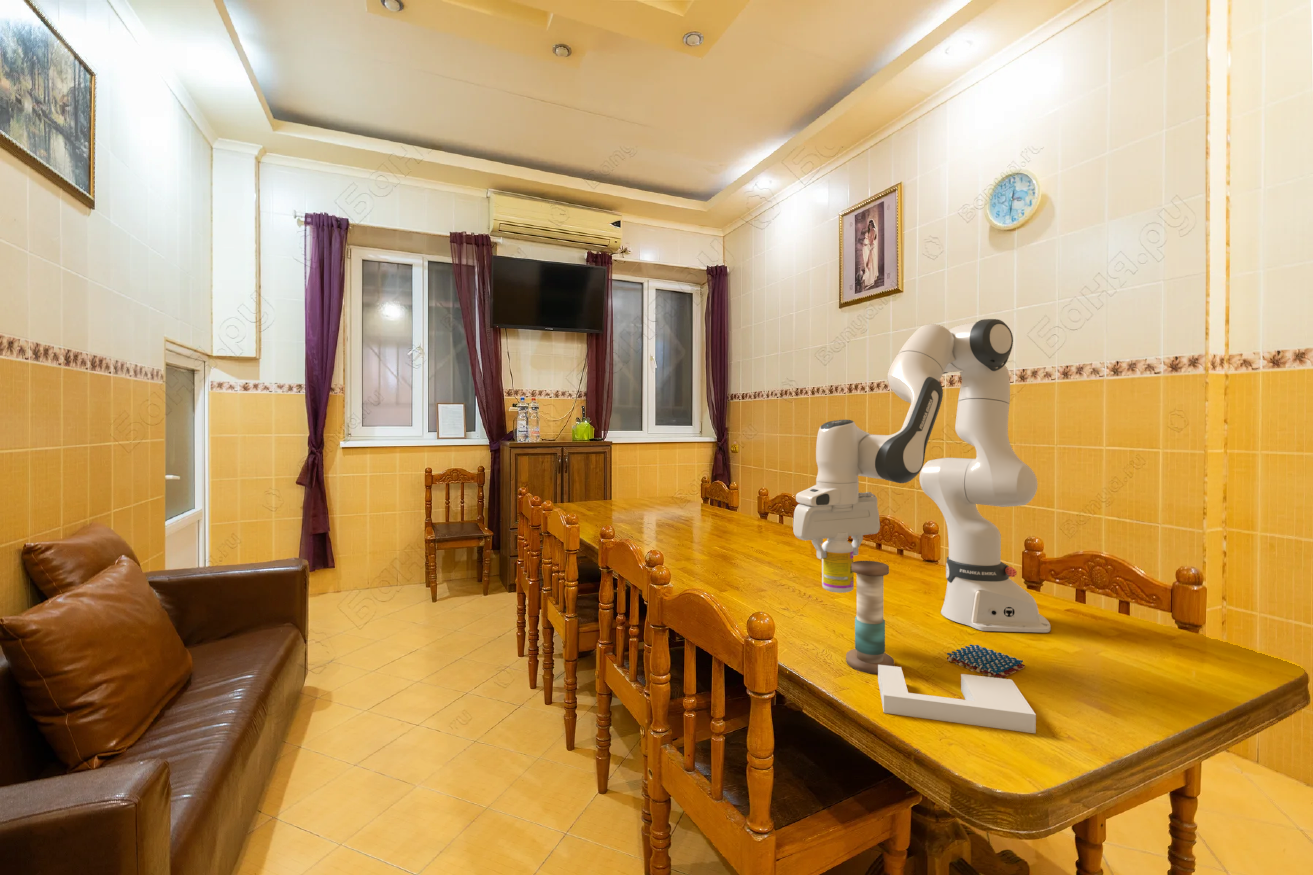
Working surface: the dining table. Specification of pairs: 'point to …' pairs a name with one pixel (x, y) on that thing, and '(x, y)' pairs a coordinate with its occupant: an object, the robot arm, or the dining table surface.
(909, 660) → the dining table surface
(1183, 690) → the dining table surface
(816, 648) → the dining table surface
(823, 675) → the dining table surface
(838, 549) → the supplement bottle
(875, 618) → the bobbin
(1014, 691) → the notched board
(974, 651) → the woven mat
